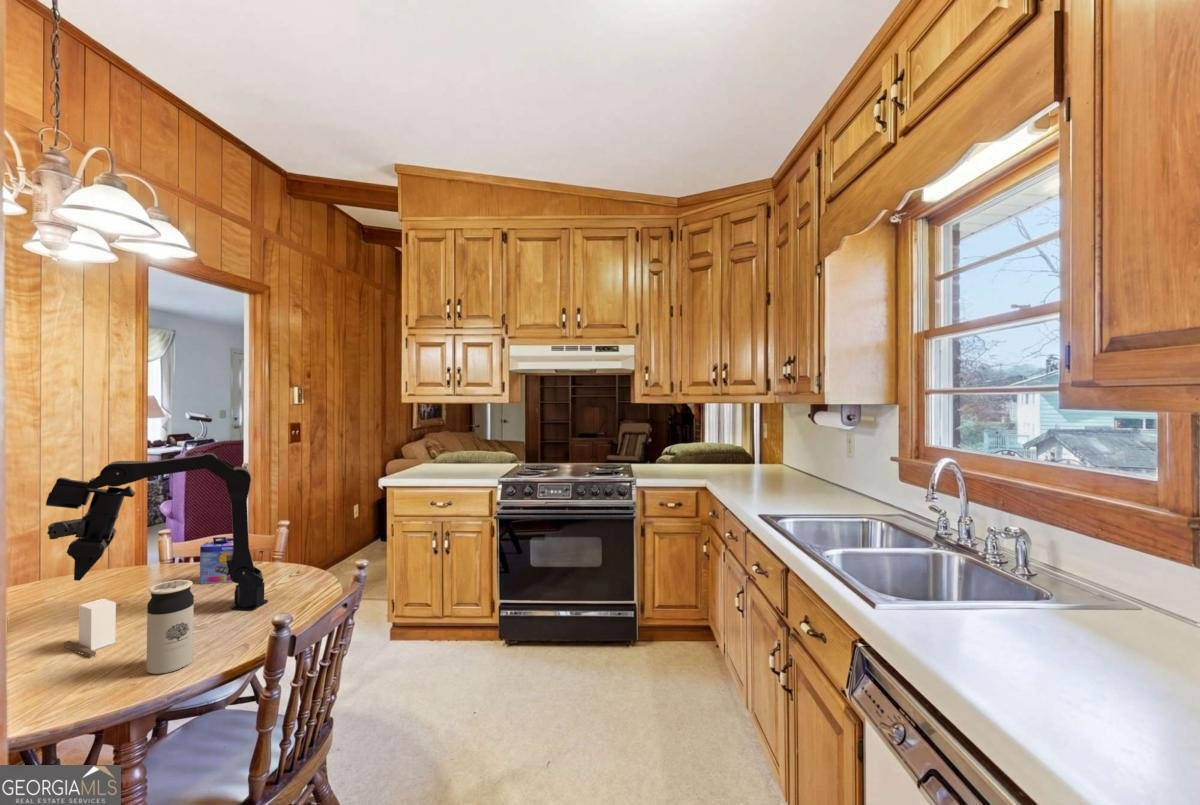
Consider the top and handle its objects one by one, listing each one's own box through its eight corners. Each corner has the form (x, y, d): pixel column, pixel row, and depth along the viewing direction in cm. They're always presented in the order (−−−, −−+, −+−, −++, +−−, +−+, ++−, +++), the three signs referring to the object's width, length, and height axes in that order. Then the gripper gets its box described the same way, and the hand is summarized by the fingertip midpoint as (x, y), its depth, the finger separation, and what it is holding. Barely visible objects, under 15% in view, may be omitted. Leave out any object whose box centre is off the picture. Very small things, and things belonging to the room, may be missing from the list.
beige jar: (145, 664, 115) (146, 584, 115) (190, 652, 121) (191, 576, 121) (147, 679, 110) (149, 595, 109) (195, 666, 115) (196, 586, 115)
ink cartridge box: (198, 585, 162) (199, 539, 162) (205, 578, 167) (206, 534, 167) (235, 582, 165) (235, 537, 165) (241, 576, 170) (242, 532, 170)
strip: (69, 644, 123) (69, 640, 123) (95, 656, 118) (95, 651, 118) (63, 646, 122) (63, 642, 122) (90, 657, 118) (90, 653, 118)
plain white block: (103, 638, 126) (103, 598, 126) (115, 643, 124) (115, 602, 124) (78, 646, 122) (79, 605, 122) (90, 652, 120) (91, 609, 120)
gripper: (67, 499, 132) (45, 561, 130) (48, 514, 117) (23, 584, 115) (124, 506, 138) (104, 564, 136) (113, 521, 123) (90, 587, 121)
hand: (81, 574), depth 127 cm, fingers open, 9 cm apart
